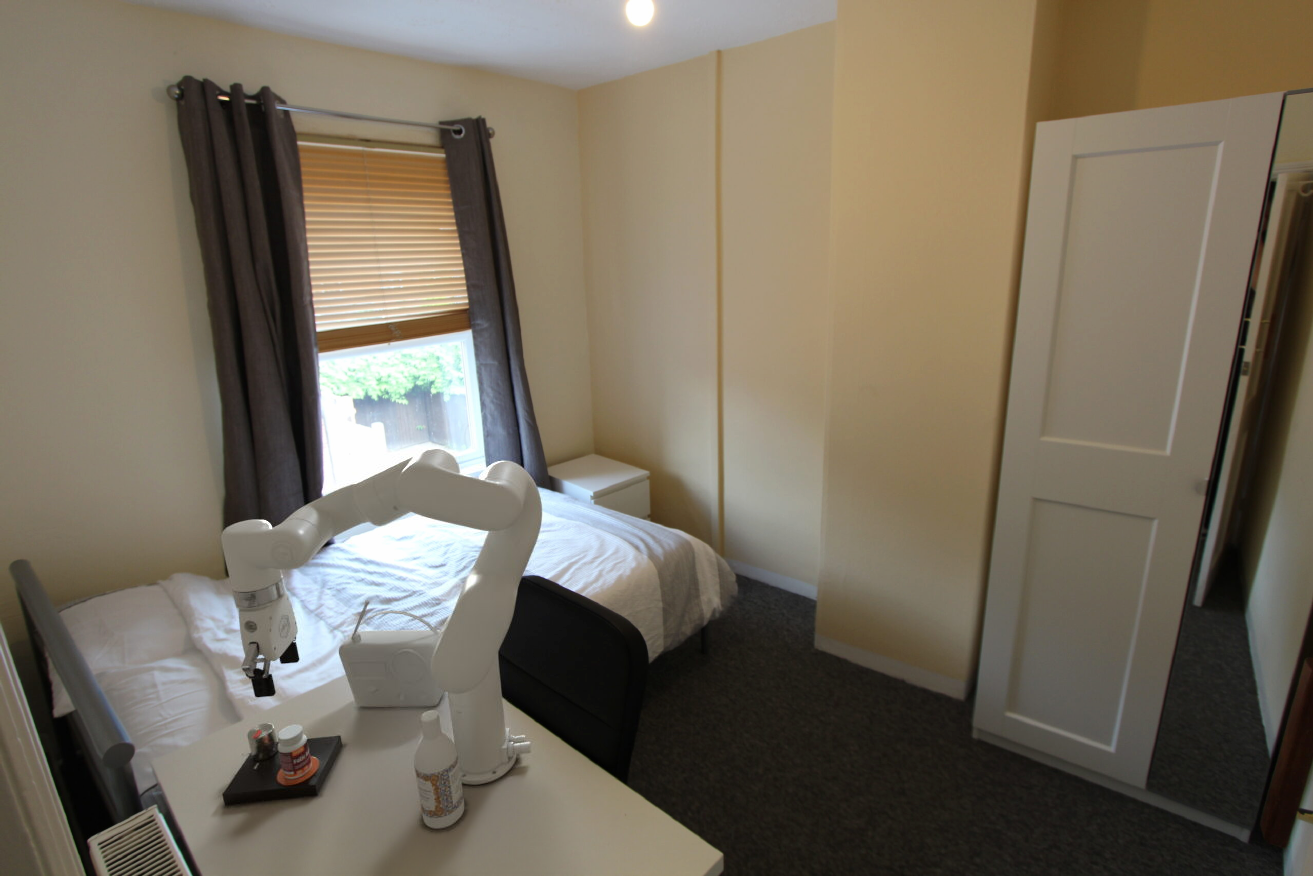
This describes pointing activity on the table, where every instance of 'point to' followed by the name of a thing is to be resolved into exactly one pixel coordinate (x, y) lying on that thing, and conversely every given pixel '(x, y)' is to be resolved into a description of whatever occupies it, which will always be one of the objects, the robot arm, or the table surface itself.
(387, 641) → the radio
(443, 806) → the bath foam
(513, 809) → the table surface
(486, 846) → the table surface
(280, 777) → the burner ring
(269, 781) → the hob
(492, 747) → the robot arm
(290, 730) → the pill bottle
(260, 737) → the hob knob
